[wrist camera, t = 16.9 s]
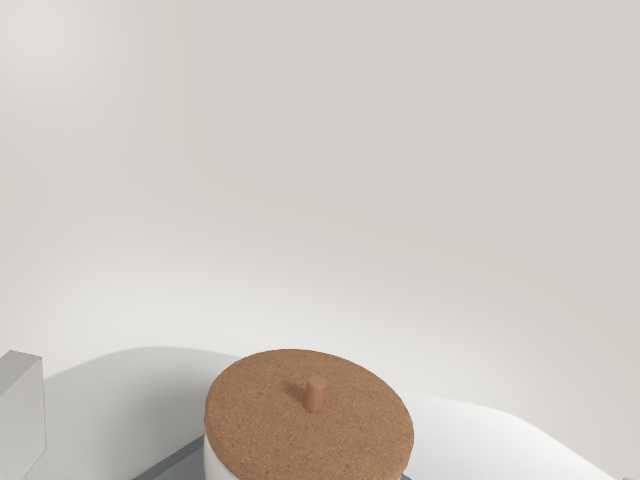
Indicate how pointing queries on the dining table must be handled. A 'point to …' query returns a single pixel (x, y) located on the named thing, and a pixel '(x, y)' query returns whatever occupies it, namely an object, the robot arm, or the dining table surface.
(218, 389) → the lidded jar
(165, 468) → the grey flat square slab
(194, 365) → the dining table surface
